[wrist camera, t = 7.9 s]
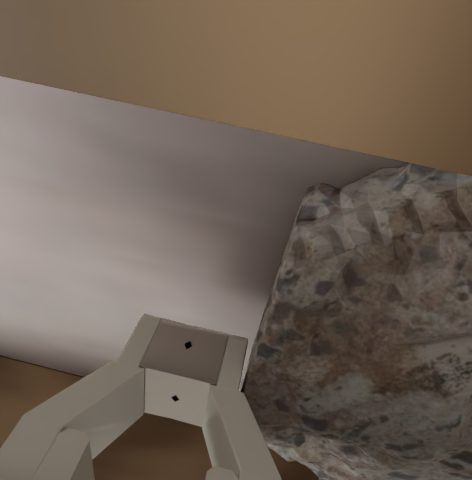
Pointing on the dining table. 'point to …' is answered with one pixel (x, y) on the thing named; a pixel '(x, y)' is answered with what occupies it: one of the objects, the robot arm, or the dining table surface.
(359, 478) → the rock
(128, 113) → the dining table surface
